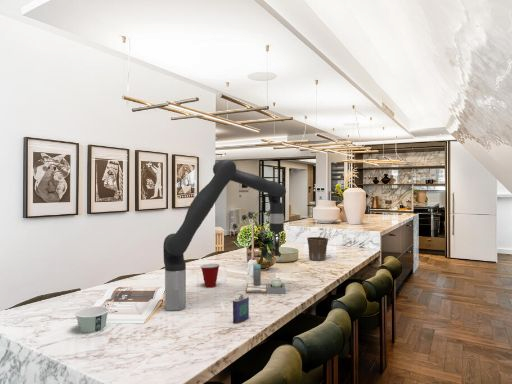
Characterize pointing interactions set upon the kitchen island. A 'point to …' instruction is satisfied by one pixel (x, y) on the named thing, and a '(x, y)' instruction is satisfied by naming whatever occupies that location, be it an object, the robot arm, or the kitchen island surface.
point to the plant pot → (317, 248)
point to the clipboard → (256, 289)
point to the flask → (240, 309)
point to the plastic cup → (210, 274)
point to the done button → (276, 283)
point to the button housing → (276, 289)
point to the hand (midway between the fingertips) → (276, 254)
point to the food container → (92, 318)
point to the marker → (256, 274)
